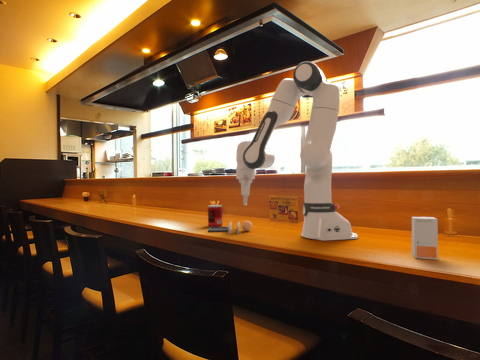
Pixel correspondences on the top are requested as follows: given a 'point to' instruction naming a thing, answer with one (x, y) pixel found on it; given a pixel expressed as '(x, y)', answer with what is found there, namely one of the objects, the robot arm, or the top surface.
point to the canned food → (215, 215)
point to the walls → (231, 227)
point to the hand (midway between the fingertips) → (245, 204)
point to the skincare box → (425, 237)
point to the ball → (246, 225)
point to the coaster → (218, 229)
